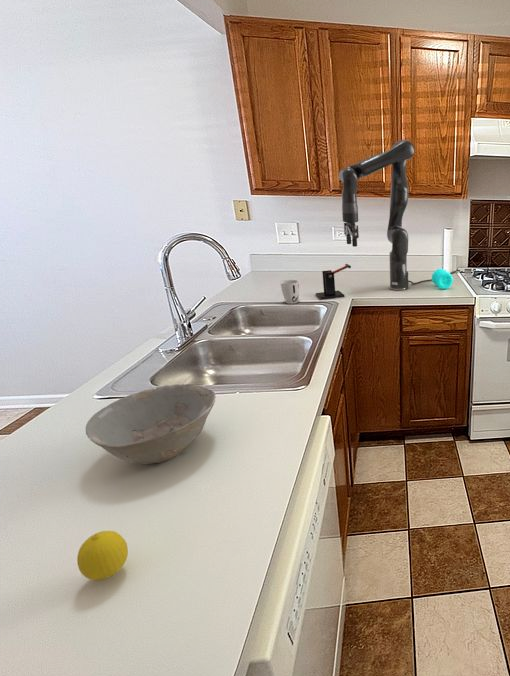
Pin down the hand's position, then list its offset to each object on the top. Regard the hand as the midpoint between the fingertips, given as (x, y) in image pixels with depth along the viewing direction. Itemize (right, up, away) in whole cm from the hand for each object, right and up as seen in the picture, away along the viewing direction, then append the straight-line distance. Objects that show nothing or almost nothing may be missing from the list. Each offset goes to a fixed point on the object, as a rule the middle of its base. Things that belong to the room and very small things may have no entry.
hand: (351, 245), depth 199 cm
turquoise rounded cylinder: (+45, -19, +25) cm, 55 cm away
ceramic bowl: (-14, -69, -112) cm, 132 cm away
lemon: (-3, -79, -139) cm, 160 cm away
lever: (-7, -14, +1) cm, 16 cm away
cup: (-27, -30, -9) cm, 41 cm away
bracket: (-12, -26, +2) cm, 28 cm away
